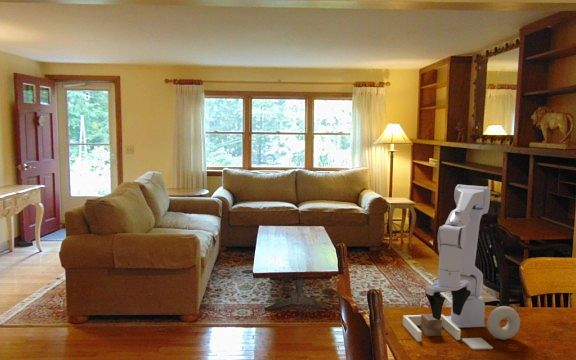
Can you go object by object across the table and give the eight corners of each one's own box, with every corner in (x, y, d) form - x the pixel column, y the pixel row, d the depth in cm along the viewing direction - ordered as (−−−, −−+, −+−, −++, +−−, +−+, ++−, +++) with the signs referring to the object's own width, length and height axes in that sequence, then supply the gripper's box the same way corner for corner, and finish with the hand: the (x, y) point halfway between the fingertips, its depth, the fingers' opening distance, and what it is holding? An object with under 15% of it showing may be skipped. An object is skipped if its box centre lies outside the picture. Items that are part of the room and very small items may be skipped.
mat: (480, 339, 132) (480, 337, 132) (492, 348, 127) (492, 347, 126) (461, 339, 132) (461, 338, 132) (472, 349, 126) (472, 348, 126)
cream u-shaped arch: (441, 323, 143) (442, 314, 143) (460, 339, 132) (460, 330, 131) (402, 324, 141) (403, 315, 141) (417, 341, 130) (418, 331, 130)
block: (434, 329, 139) (435, 313, 138) (441, 335, 134) (442, 319, 134) (420, 329, 138) (421, 314, 138) (426, 336, 134) (427, 320, 133)
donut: (514, 335, 135) (516, 303, 134) (521, 340, 132) (524, 308, 131) (483, 337, 134) (485, 304, 133) (490, 342, 130) (492, 309, 129)
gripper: (457, 261, 130) (454, 307, 132) (419, 267, 124) (416, 315, 125) (477, 268, 124) (474, 316, 125) (438, 275, 118) (435, 324, 119)
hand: (446, 316), depth 125 cm, fingers open, 7 cm apart
